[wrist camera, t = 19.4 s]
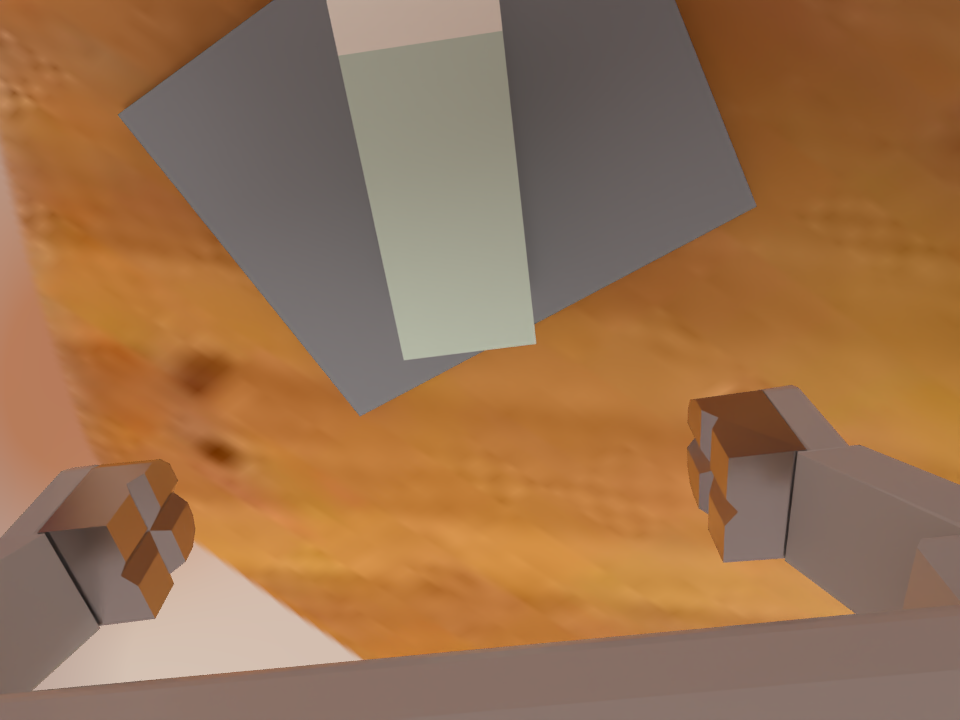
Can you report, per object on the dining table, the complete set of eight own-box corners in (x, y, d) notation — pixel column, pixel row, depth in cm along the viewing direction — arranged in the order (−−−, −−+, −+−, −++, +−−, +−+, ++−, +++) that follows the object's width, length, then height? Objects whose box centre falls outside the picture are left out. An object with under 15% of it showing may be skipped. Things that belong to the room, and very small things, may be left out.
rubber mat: (580, -221, 21) (584, -229, 21) (749, 201, 28) (756, 206, 27) (127, 112, 26) (117, 114, 25) (362, 407, 32) (359, 416, 32)
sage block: (526, 293, 29) (492, -20, 23) (536, 343, 24) (496, -28, 19) (414, 307, 29) (353, 2, 24) (403, 360, 25) (326, -1, 19)
